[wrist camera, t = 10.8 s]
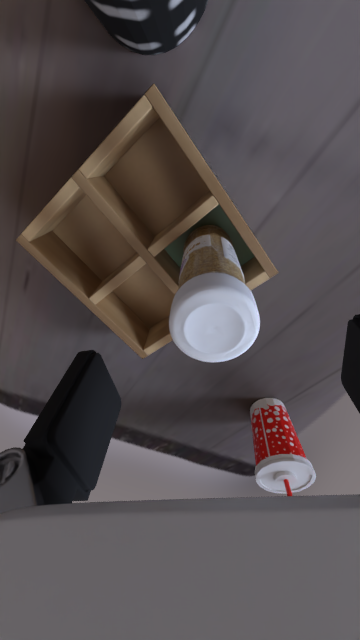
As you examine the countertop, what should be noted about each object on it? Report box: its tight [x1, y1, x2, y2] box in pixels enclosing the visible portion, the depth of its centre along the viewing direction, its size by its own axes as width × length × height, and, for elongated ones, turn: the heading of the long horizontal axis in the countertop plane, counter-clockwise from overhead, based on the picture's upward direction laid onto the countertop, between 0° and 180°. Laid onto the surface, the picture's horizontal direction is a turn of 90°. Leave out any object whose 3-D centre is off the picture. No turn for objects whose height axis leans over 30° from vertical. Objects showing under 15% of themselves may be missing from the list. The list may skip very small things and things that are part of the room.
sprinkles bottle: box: [169, 225, 260, 362], centre depth 19 cm, size 5×5×13 cm
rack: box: [16, 84, 278, 359], centre depth 23 cm, size 15×15×5 cm
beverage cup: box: [250, 398, 316, 496], centre depth 30 cm, size 6×6×14 cm
